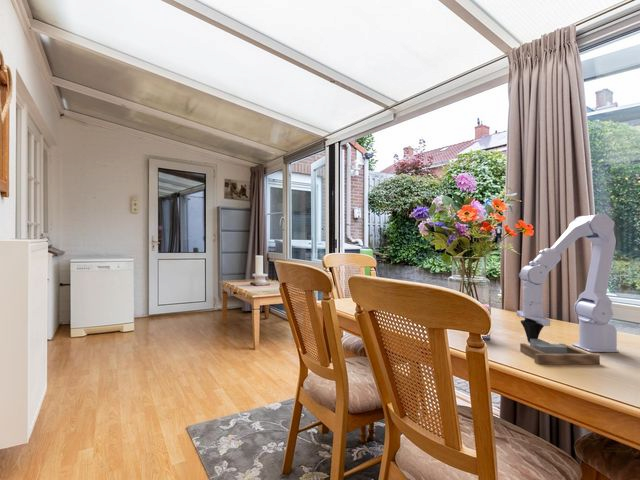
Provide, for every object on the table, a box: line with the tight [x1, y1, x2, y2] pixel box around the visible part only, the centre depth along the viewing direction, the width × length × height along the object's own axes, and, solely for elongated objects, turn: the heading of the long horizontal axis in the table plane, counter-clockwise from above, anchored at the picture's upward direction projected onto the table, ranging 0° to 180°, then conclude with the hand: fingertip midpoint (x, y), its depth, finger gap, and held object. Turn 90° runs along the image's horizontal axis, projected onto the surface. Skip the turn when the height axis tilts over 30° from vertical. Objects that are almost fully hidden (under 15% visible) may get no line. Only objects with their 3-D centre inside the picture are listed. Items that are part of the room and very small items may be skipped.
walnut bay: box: [519, 342, 601, 365], centre depth 103 cm, size 18×12×2 cm, turn 91°
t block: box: [529, 338, 567, 354], centre depth 108 cm, size 8×9×3 cm
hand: (532, 342), depth 114 cm, fingers closed
